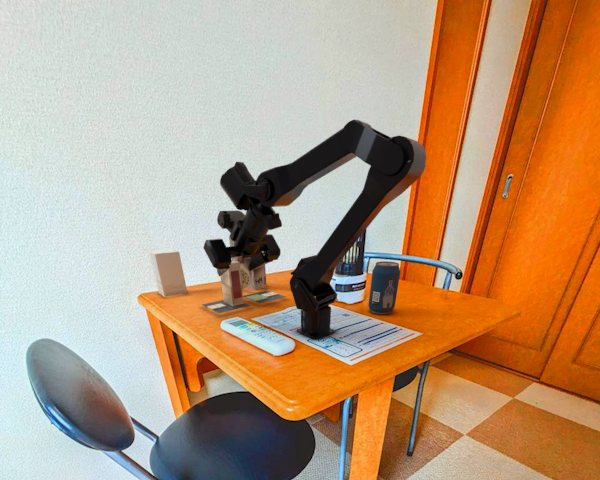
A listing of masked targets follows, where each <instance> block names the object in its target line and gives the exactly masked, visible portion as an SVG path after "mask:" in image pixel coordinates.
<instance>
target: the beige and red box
mask: <svg viewBox="0 0 600 480" xmlns="http://www.w3.org/2000/svg"><path fill="white" fill-rule="evenodd" d="M231 260H232V259H231ZM229 267H230V268H229V269H228V270H227V271H226V272H225V273H224V274H223V275H221V276H219V277H220V284H221V290H222V300H224V303H227V304H229V305H231V306H237V305H241V304H244V303H245V302H244V297H243V296H244V291H243V288H242V283H241V273H240V263H239V262H237V261H233V260H232V262H231V264H230V265H229Z"/></svg>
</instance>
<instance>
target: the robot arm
mask: <svg viewBox="0 0 600 480" xmlns="http://www.w3.org/2000/svg"><path fill="white" fill-rule="evenodd" d="M356 157H357V158H358V159H360V160H361V161H362V162H364V163H366V164H367V165H368V166H369V169H368V171H367V174H366V178H365V181H364V185H363V188H362V191H361V192H360V194H358V197H357V198H356V199H355V201H354V202H353V203H352V205H351V206H350V207H349V208H348V210H347V212H346V213H345V215H344V216H343V218H342V219H341V220H340V221H339V223H338V224H337V225H336V227H335V229H334V230H333V232H332V233H331V234H330V236H329V237H328V238H327V239H326V241H325V242H324V244H323V245H322V247H321V248H320V250H319V251H318V252H317V254H315V255H310V256H306V257H302V258H301V259H300V260H299V261H298V263H297V265H296V267H295V268H294V270H293V271H291V272H290V275H292V276H291V277H290V279H289V282H288V283H289V286H290V292H291V294H292V297H293V300H294V304H295V308H296V309H297V310H300V328H297V329H296V332H297V333H299V334H301V335H303V336H306V337H308V338H311V339H312V340H318V339H320V338H321V339H322V338H324V337H326V336H329V335H331V334H334V333H336V332H335V331H336V330H335V329H333V328H331V320H332V319H331V317H332V306H330V305H331V304H335V302H336V300H337V297H338V293H337V292H336V290H335V288H334V287H333V286H332V285H331V282H332V280H333V276H334V273H335V269H336V268H337V266H338V265H339V264H340V263H341V261H342V260H343V259H344V258H345V256H346V255H347V254H348V252H349V251H350V250H351V249H352V248H353V246H354V245H355V244H356V242H357V241H358V240H359V239H360V237H361V236H362V235H363V233H365V232H366V230H367V228H369V226H370V225H371V224H372V222H373V221H374V220H375V219H376V217H377V216H378V215H379V214H380V212H381V211H382V210H383V209H384V208H385V207H386V206H387V205H388V204H390V203H391V202H392V201H394V200H396V199H397V198H398V197H399V196H400V195H402V194H404V193H405V192H406V191H407V190H408V189H409V188H410V187H411V186H412V185H413V184H415V182H417V181H418V180H419V178H421V176H422V174H423V173H424V172H425V169H426V166H427V165H426V164H427V152H426V149H425V148H424V145H423V144H422V143H421V142H419V141H417V140H415V139H413V138H410V137H407V136H404V135H395V136H389V135H387V134H385V133H384V132H381V131H379V130H377V129H375V128H373V127H372V125H370V124H369V123H367V122H365V121H362V120H359V119H352V120H349V121H348V122H347V123H346V124H345V125H344V126H343V127H342V128H340V129H339V130H338V131H336V132H335V133H333V134H332V135H331V136H329V137H328V138H326V139H325V140H323V141H322V142H320V143H319V144H317V145H316V146H314V147H313V148H311V149H310V150H308V151H307V152H306V153H304V154H303V155H301V156H300V157H299V158H297V159H295V160H294V161H293V162H289V163H287V164H284V165H279V166H275V167H272V168H269V169H266V170H263V171H262V172H260V173H259V174H258V175H257V177H256V179H255V178H254V176H253V175H252V174H251V173H250V171H249V169H248V167H247V165H246V164H245V163H244V162H243V161H236V162H235V163H234V165H233V166H232V167H229V168H228V169H227V170H226V171H225V172H224V173H223V174H222V175H221V177H220V180H219V184H220V187H221V189H222V190H223V192H224V193H225V194H226V196H227V198H228V199H229V200H230V201H231V203H232V204H233V206H234V207H235V208H236V210H219V213H218V214H217V219H216V220H217V221H216V222H217V224H218V226H219V227H220V228H221V229H222V230H224V229H225V230H227V231H228V232H229V233H230V234H229V236H228V238H229V237H230V238H231V240H232V241H234V246H232V247H230V246H227V244H226V243H225V241H224V240H223V239H222V238H210V239H205V241H204V244H203V247H202V248H203V250H204V252H205V254H206V256H207V258H208V259H209V261H210V263H211V265H212V267H213V268H215V269H216V273H217V275H218V277H220V276H221V275H223V274H224V273H225V272H226V271H227V270H228V269H229V268H230V267H229V265H230V264H231V262H232V258H237V257H243V258H249V257H252V258H251V260H250V263H249V266H248V270H249V271H252V270H254V269H256V268H258V267H260V266H263V265H265V266H266V265H267V264H269V263H272V262H274V261H277V260H278V259H279V258H280V256H281V251H282V250H281V248H280V246H279V244H278V242H277V240H276V239H275V237H274V235H273V234H270V233H268V232H269V231H272V230H275V229H278V228H282V226H283V223H282V220H281V217H280V213H279V212H276V211H275V209H274V208H277V207H278V208H279V207H281V208H282V207H288V206H290V205H291V204H293V202H295V201H296V200H297V199H298V198H299V197H300V196H301V195H302V193H303V192H304V190H305V189H306V188H307V187H308V186H310V185H312V184H313V183H314V182H316V181H318V180H320V179H321V178H323V177H324V176H326V175H329V173H332V172H333V171H335V170H337V169H338V168H340V167H342V166H344V165H345V164H346V163H348V162H351V161H352V160H353V159H355V158H356ZM243 211H245V214H244V212H243Z"/></svg>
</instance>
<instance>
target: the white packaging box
mask: <svg viewBox="0 0 600 480" xmlns="http://www.w3.org/2000/svg"><path fill="white" fill-rule="evenodd" d="M148 253H149V258H150V262H151V266H152V270H153V274H154V275H153V276H154V278H155V282H156V286H157V290H158V294H159V295H161V296H162V297H163V298H166V297H172V296H177V295H178V296H179V295H182V294H187V293H188V289H187V284H186V278H185V273H184V269H183V264H182V260H181V255H180V251H178V250H175V249H172V248H171V249H159V250H151V251H148Z"/></svg>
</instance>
